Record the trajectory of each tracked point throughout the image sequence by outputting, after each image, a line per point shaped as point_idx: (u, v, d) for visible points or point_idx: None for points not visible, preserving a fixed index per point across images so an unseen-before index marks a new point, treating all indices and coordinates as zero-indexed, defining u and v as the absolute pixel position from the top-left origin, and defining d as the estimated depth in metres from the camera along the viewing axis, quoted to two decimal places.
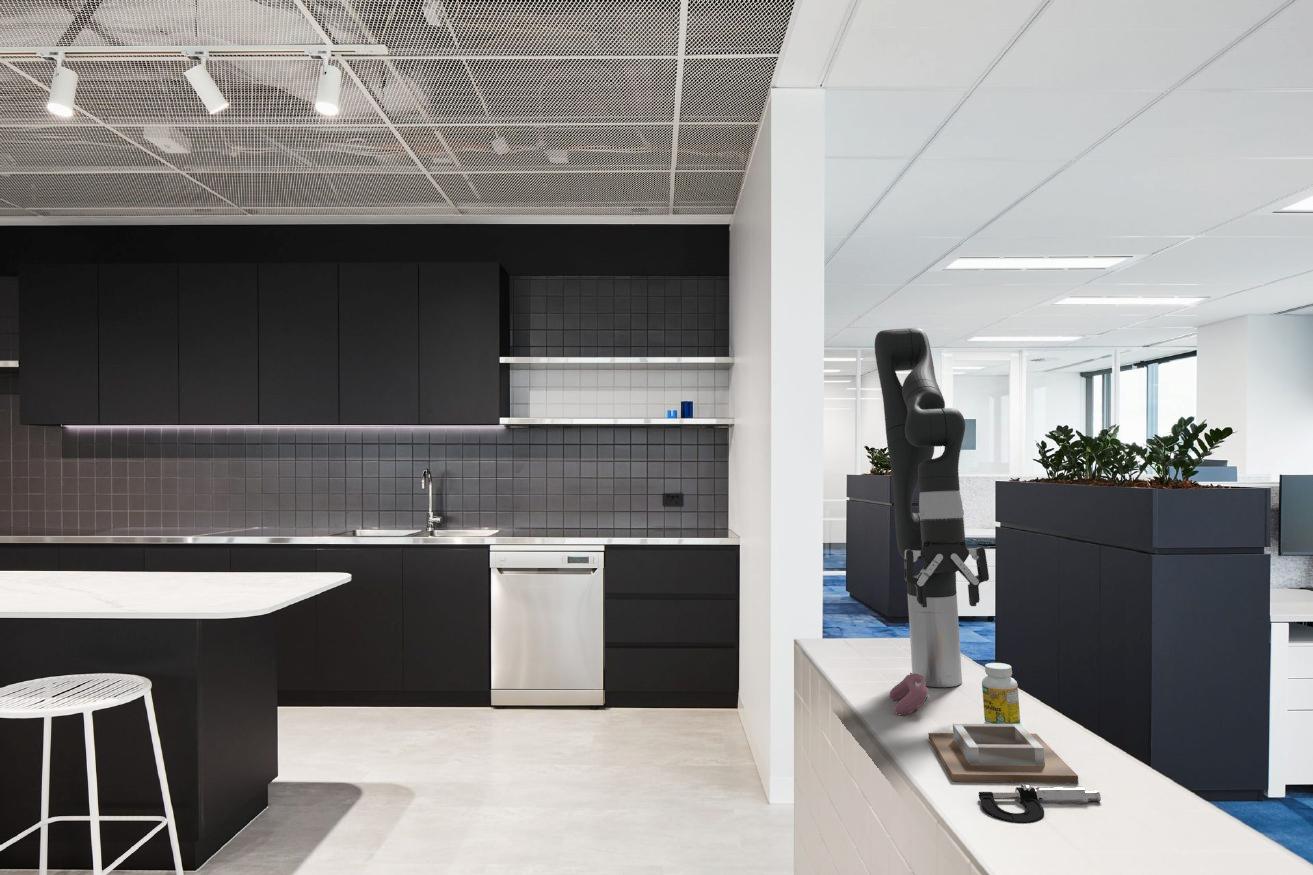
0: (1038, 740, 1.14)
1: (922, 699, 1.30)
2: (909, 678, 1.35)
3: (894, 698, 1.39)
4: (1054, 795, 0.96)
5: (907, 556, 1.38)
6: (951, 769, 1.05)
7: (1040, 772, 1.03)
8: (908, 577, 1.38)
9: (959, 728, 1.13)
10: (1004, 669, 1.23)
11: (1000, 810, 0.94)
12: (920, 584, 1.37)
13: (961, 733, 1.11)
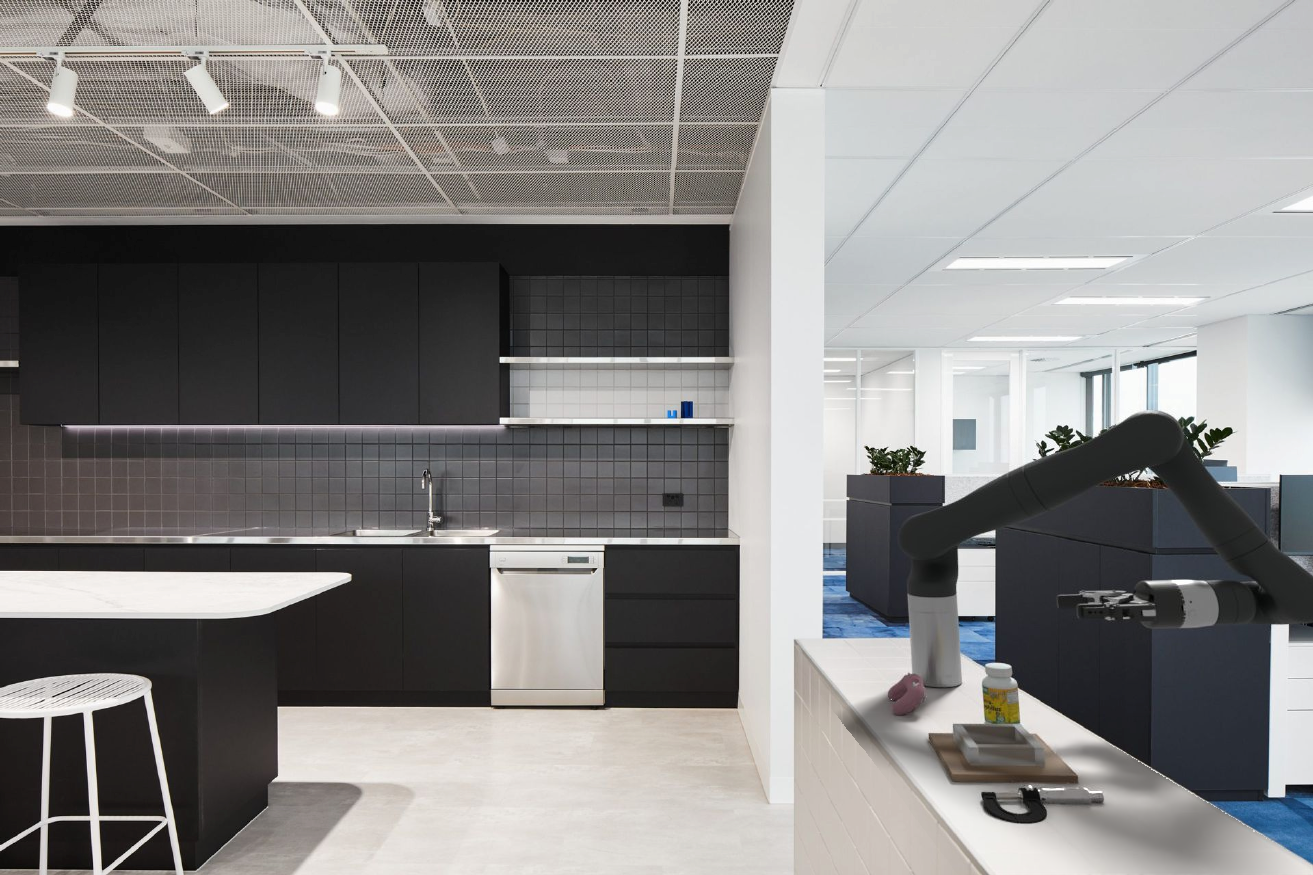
0: (1038, 740, 1.14)
1: (920, 699, 1.30)
2: (907, 678, 1.35)
3: (892, 698, 1.39)
4: (1057, 795, 0.95)
5: (1148, 620, 1.15)
6: (951, 769, 1.05)
7: (1040, 772, 1.03)
8: None
9: (959, 728, 1.13)
10: (1004, 669, 1.23)
11: (1003, 810, 0.94)
12: None
13: (961, 733, 1.11)
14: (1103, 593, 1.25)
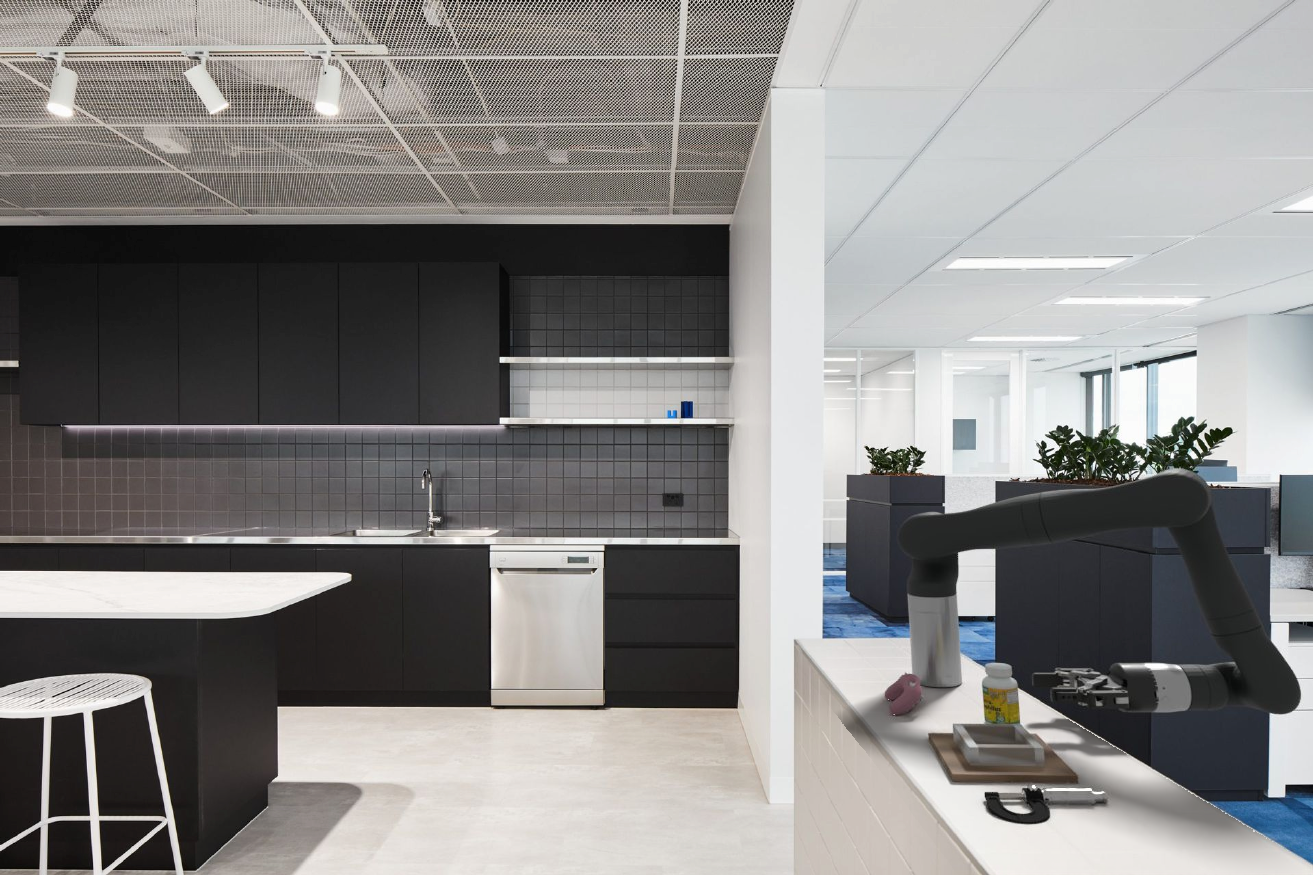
0: (1038, 740, 1.14)
1: (917, 699, 1.30)
2: (904, 678, 1.35)
3: (889, 698, 1.39)
4: (1060, 796, 0.95)
5: None
6: (951, 769, 1.05)
7: (1040, 772, 1.03)
8: None
9: (959, 728, 1.13)
10: (1004, 669, 1.23)
11: (1006, 810, 0.93)
12: None
13: (961, 733, 1.11)
14: (1078, 673, 1.25)
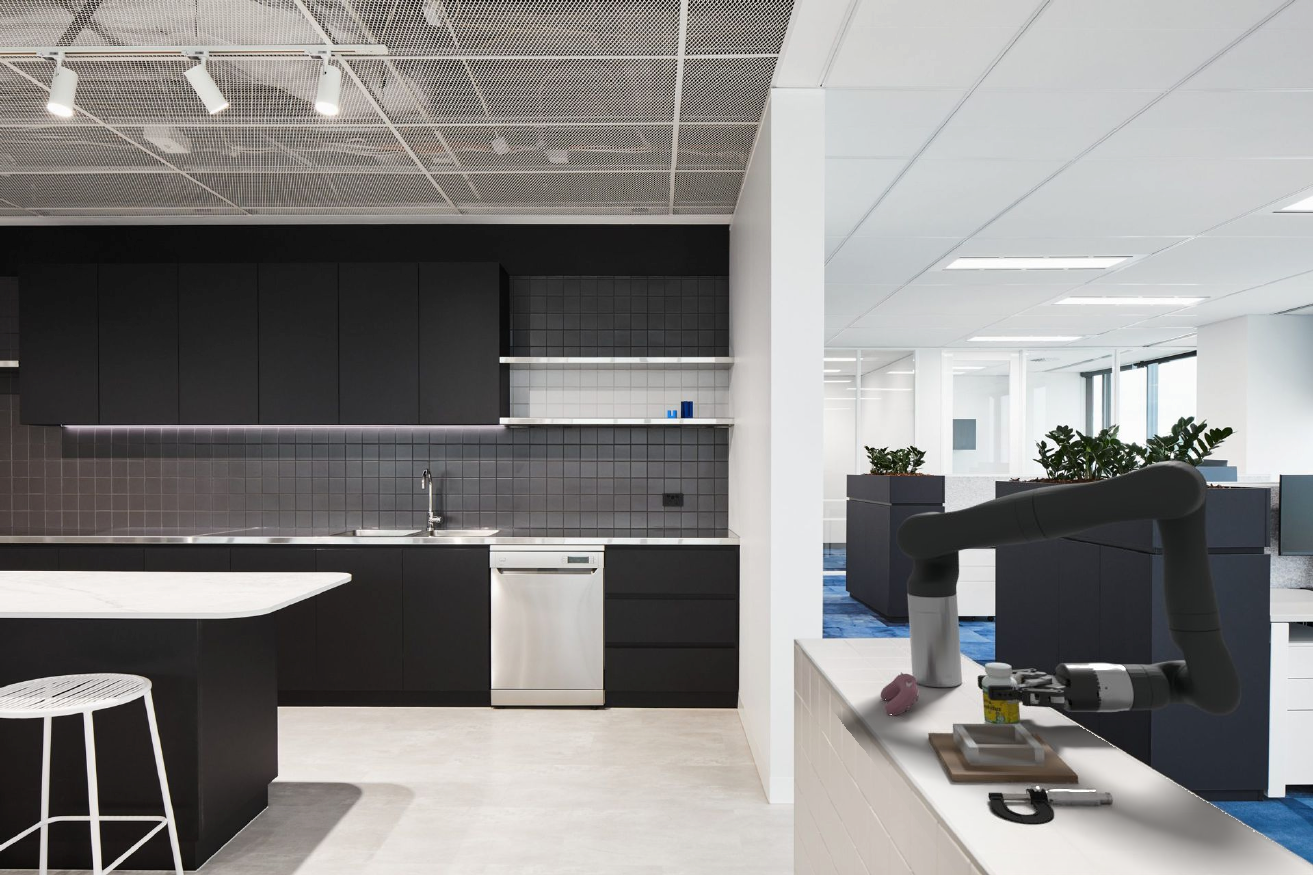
0: (1038, 740, 1.14)
1: (913, 699, 1.30)
2: (900, 678, 1.35)
3: (885, 698, 1.39)
4: (1065, 797, 0.95)
5: (1056, 707, 1.17)
6: (951, 769, 1.05)
7: (1040, 772, 1.03)
8: None
9: (959, 728, 1.13)
10: (1004, 669, 1.23)
11: (1009, 811, 0.93)
12: None
13: (961, 733, 1.11)
14: (1024, 674, 1.26)
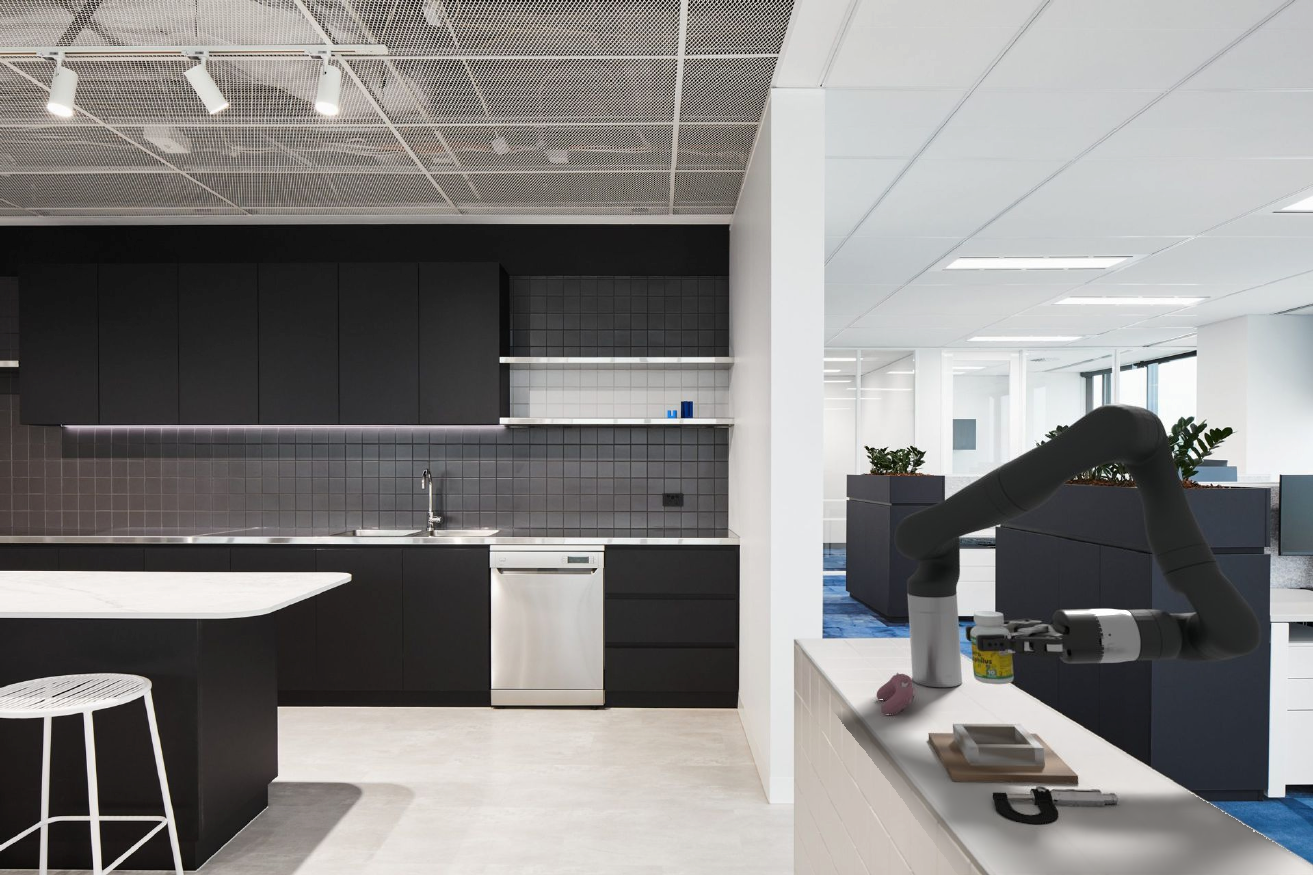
0: (1038, 740, 1.14)
1: (909, 699, 1.30)
2: (896, 678, 1.35)
3: (881, 698, 1.39)
4: (1069, 797, 0.95)
5: (1053, 656, 1.04)
6: (951, 769, 1.05)
7: (1040, 772, 1.03)
8: None
9: (959, 728, 1.13)
10: (995, 616, 1.09)
11: (1013, 811, 0.93)
12: None
13: (961, 733, 1.11)
14: (1018, 624, 1.12)
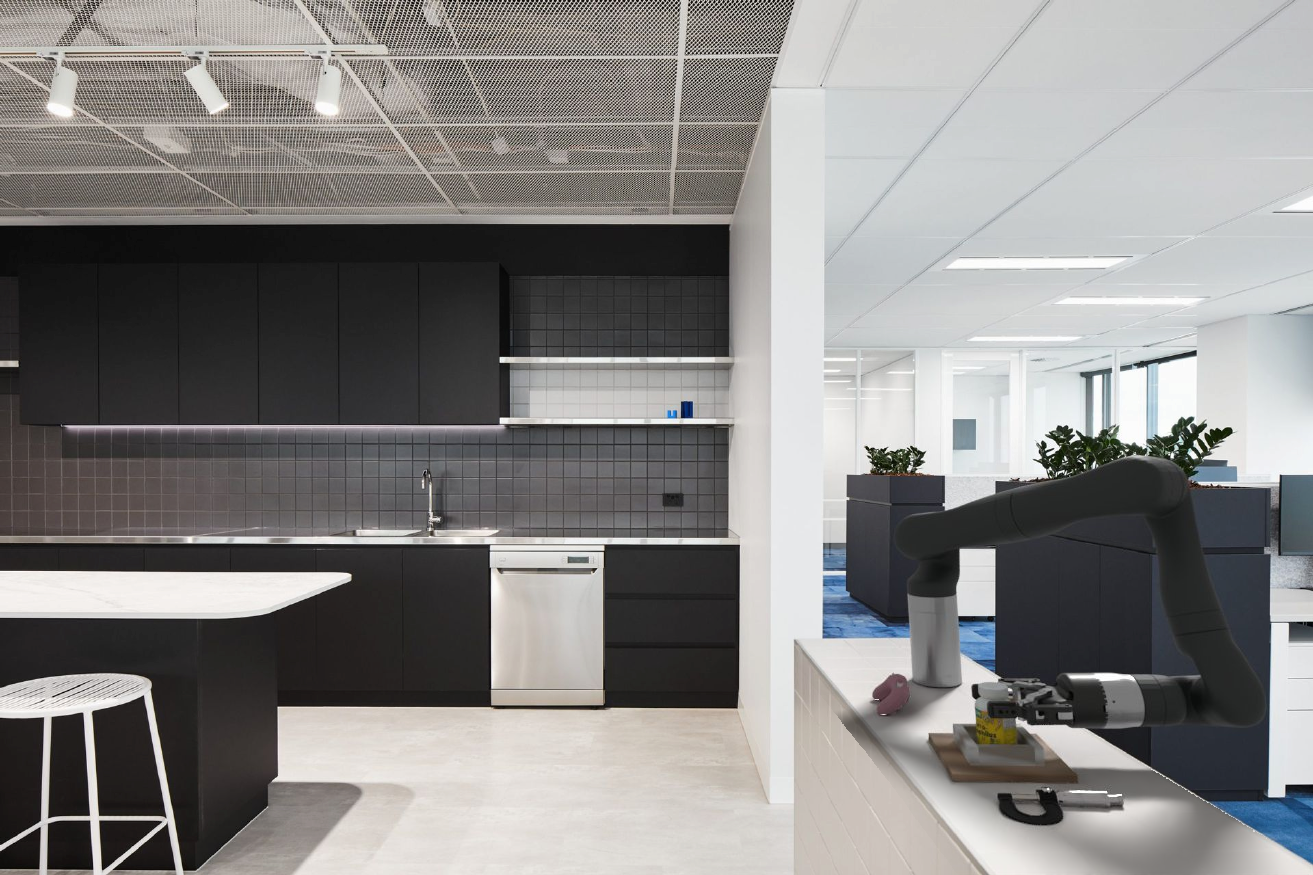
0: (1038, 740, 1.14)
1: (904, 699, 1.31)
2: (891, 678, 1.35)
3: (876, 698, 1.39)
4: (1075, 798, 0.94)
5: None
6: (951, 769, 1.05)
7: (1040, 772, 1.03)
8: None
9: (959, 728, 1.13)
10: (999, 690, 1.09)
11: (1018, 812, 0.93)
12: (1020, 719, 1.05)
13: (961, 733, 1.11)
14: (1021, 685, 1.12)
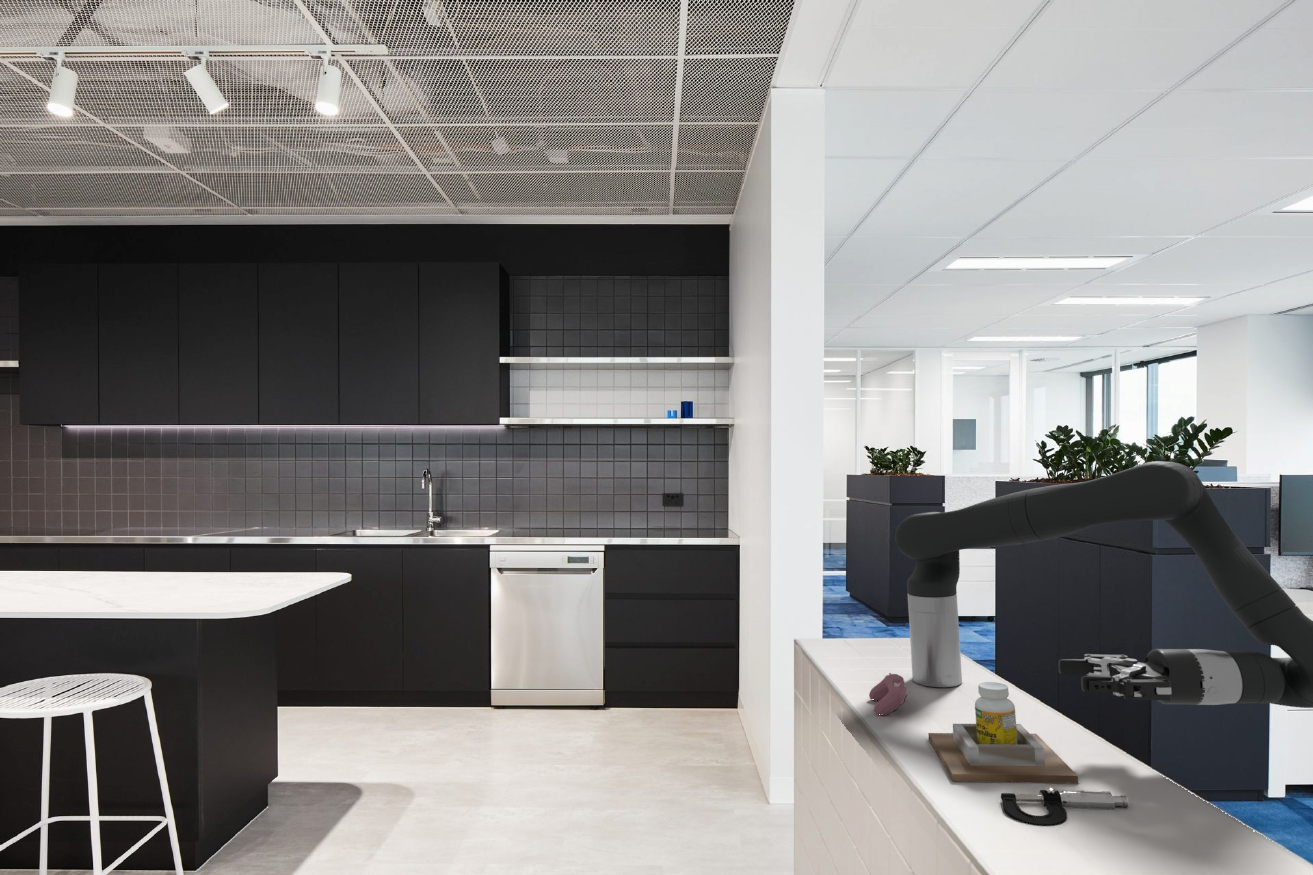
0: (1038, 740, 1.14)
1: (901, 699, 1.31)
2: (888, 678, 1.35)
3: (873, 698, 1.39)
4: (1079, 799, 0.94)
5: (1163, 699, 1.02)
6: (951, 769, 1.05)
7: (1040, 772, 1.03)
8: None
9: (959, 728, 1.13)
10: (1000, 690, 1.09)
11: (1021, 812, 0.93)
12: (1116, 694, 1.04)
13: (961, 733, 1.11)
14: (1111, 660, 1.11)
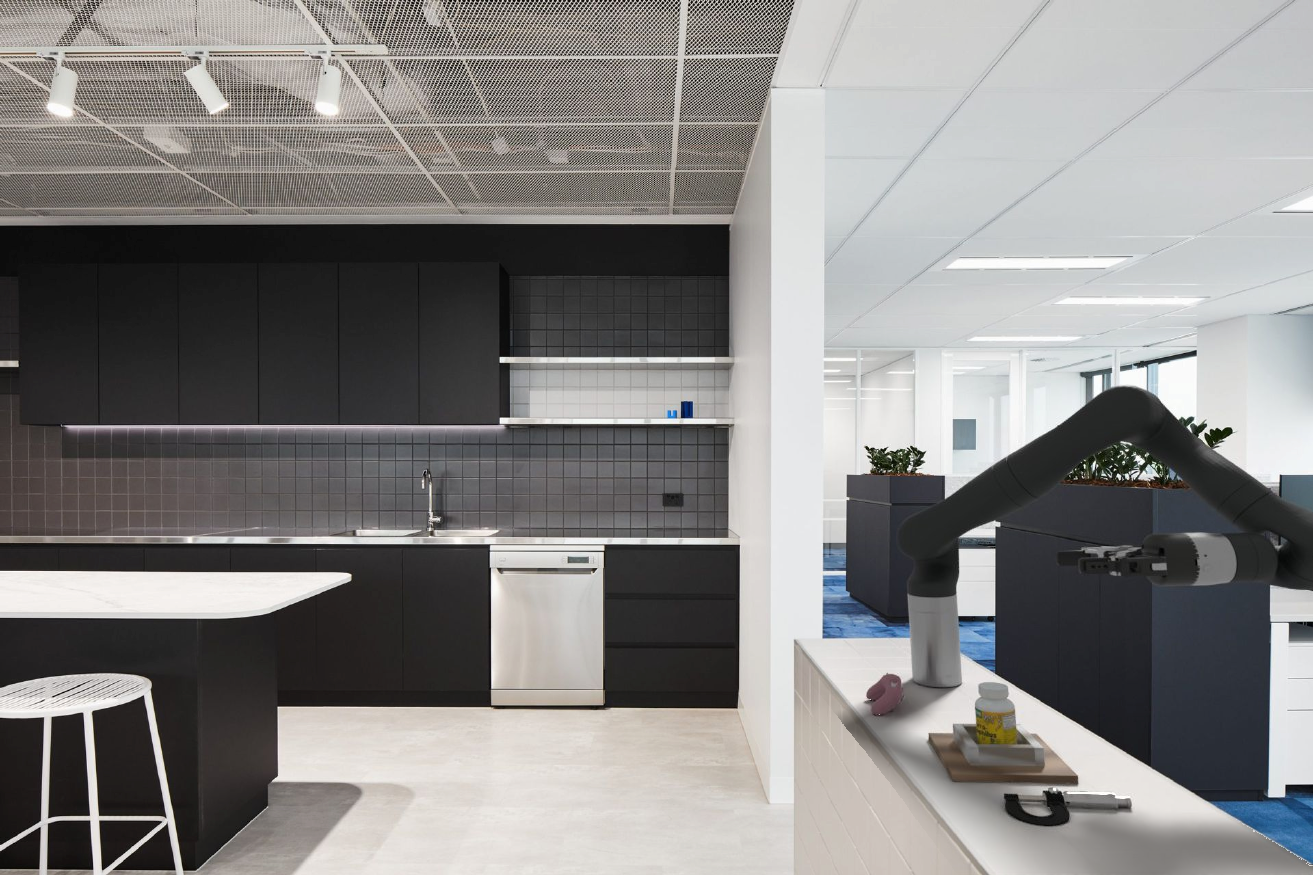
0: (1038, 740, 1.14)
1: (898, 699, 1.31)
2: (885, 678, 1.35)
3: (870, 698, 1.40)
4: (1082, 799, 0.94)
5: (1159, 575, 1.04)
6: (951, 769, 1.05)
7: (1040, 772, 1.03)
8: None
9: (959, 728, 1.13)
10: (1000, 690, 1.09)
11: (1024, 812, 0.93)
12: (1112, 574, 1.06)
13: (961, 733, 1.11)
14: (1108, 548, 1.13)
